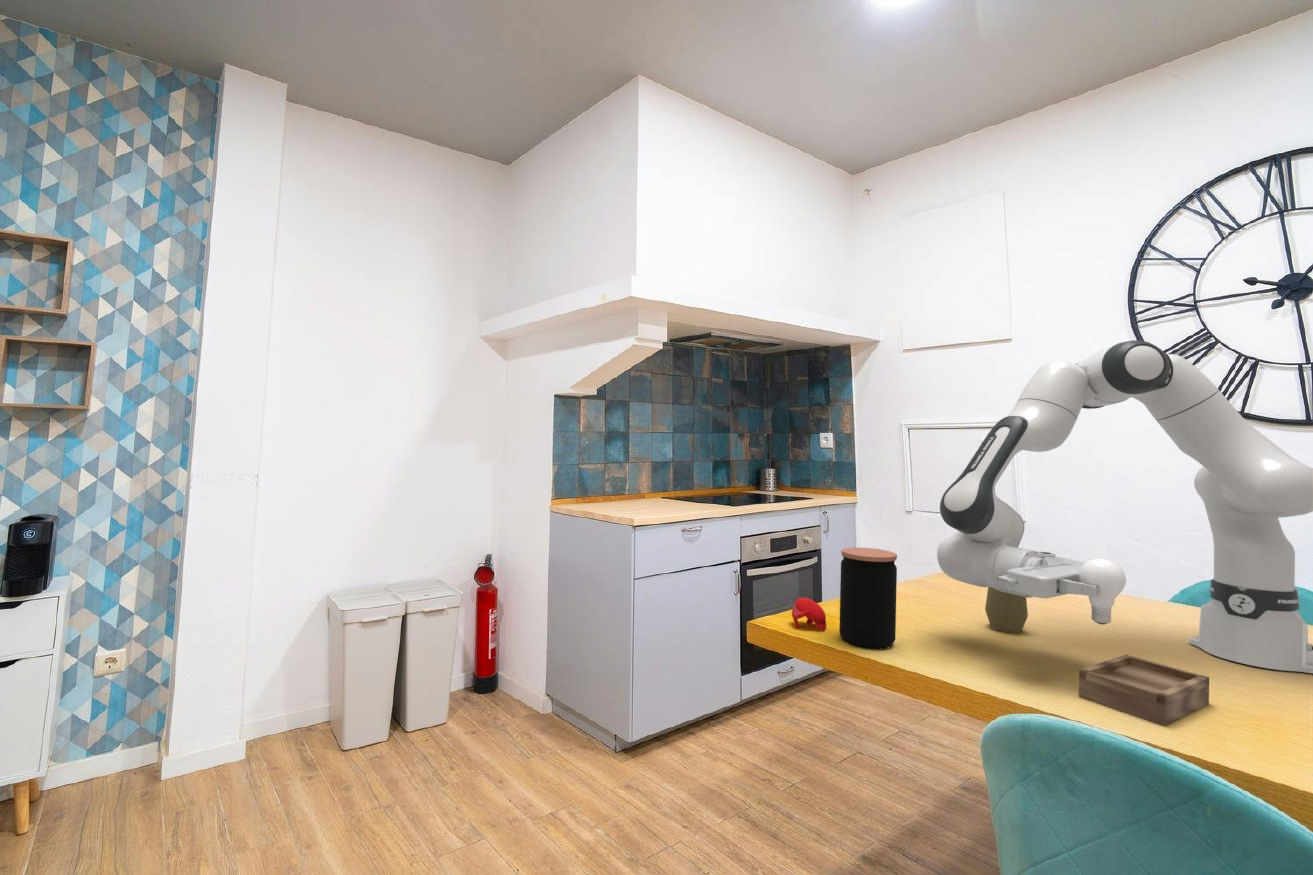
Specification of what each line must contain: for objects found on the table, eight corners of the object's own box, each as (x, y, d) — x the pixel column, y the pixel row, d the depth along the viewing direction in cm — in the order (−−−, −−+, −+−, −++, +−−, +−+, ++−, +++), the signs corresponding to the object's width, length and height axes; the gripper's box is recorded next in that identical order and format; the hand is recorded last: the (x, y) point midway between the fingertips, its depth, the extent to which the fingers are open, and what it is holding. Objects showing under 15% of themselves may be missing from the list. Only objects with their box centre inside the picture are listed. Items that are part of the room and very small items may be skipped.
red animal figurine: (782, 610, 126) (801, 602, 122) (794, 597, 131) (813, 588, 127) (804, 642, 125) (825, 634, 121) (816, 627, 129) (836, 619, 125)
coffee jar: (903, 641, 118) (905, 552, 118) (882, 654, 110) (884, 559, 110) (852, 629, 125) (854, 545, 125) (829, 640, 117) (831, 551, 117)
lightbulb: (1127, 632, 94) (1128, 564, 94) (1079, 625, 97) (1080, 559, 97) (1122, 622, 99) (1123, 557, 99) (1076, 616, 102) (1077, 553, 102)
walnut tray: (1125, 678, 101) (1125, 654, 101) (1208, 703, 92) (1209, 677, 92) (1078, 696, 93) (1079, 669, 93) (1164, 725, 84) (1165, 696, 84)
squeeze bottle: (1034, 636, 123) (1035, 551, 123) (992, 633, 125) (994, 549, 125) (1018, 625, 131) (1020, 545, 131) (979, 622, 133) (981, 543, 133)
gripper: (989, 560, 104) (1076, 575, 92) (1051, 551, 114) (1136, 564, 102) (989, 595, 104) (1075, 615, 92) (1051, 583, 114) (1136, 600, 102)
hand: (1108, 588), depth 97 cm, fingers closed on lightbulb, 6 cm apart
